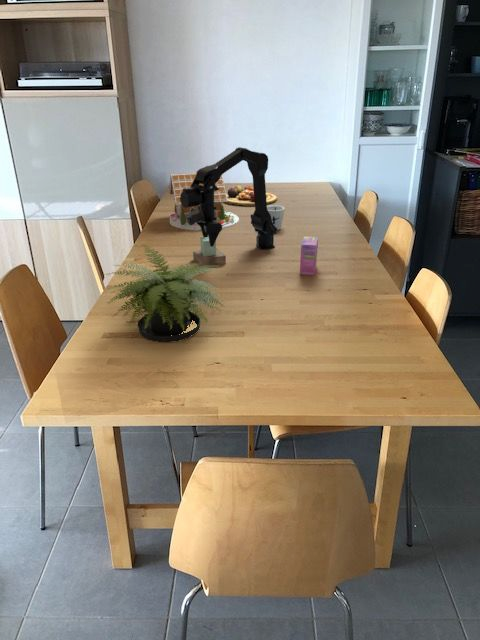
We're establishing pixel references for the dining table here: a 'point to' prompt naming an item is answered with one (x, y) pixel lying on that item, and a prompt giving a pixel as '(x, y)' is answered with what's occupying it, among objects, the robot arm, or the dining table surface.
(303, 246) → the box
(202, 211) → the robot arm
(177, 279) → the fern plant
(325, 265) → the dining table surface
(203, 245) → the green block
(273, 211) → the white cup
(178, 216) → the gingerbread house
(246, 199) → the wooden plate with food
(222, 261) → the walnut base
